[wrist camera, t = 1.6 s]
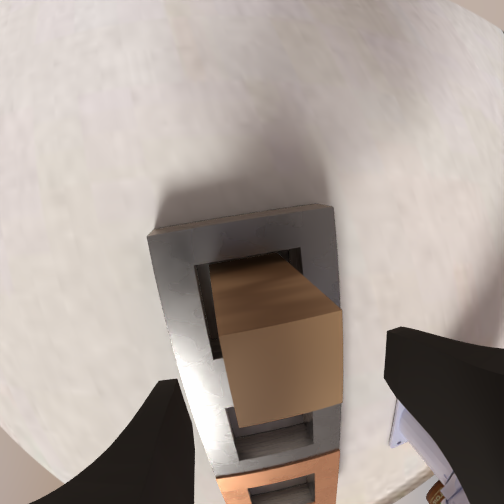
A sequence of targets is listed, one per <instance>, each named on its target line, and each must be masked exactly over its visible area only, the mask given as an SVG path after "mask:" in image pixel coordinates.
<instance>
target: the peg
mask: <svg viewBox="0 0 504 504" xmlns="http://www.w3.org/2000/svg"><path fill="white" fill-rule="evenodd" d="M209 271H210V279H211V286H212V294H213V301H214V308H215V315H216V322H217V329H218V335H219V340H220V345H221V350H222V355H223V360H224V364H225V369H226V373H227V378H228V383H229V387H230V391H231V396H232V400H233V405H234V409H235V413H236V417H237V422H238V426H239V428H243V427H248V426H253V425H258V424H263V423H267V422H272V421H276V420H281V419H285V418H289V417H293V416H297V415H301V414H305V413H308V412H312V411H316V410H319V409H323V408H326V407H330V406H333V405H336V404H339V403H342V399H343V322H342V310H341V309H340V308H339V307H338V306H337V305H336V304H335V303H334V302H332V301H331V300H330V299H329V298H328V297H327V296H326V295H325V294H323V293H322V292H321V291H320V290H319V289H318V288H317V287H316V286H314V285H313V284H312V283H311V282H310V281H309V280H308V279H307V278H305V277H304V276H303V275H302V274H301V273H300V272H299V271H298V270H296V269H295V268H294V267H293V266H292V265H291V264H290V263H288V262H287V261H286V260H285V259H284V258H283V257H282V256H280V255H279V254H278V253H271V254H265V255H259V256H254V257H248V258H242V259H236V260H230V261H224V262H219V263H213V264H209Z"/></svg>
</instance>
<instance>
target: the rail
mask: <svg viewBox="0 0 504 504" xmlns="http://www.w3.org/2000/svg"><path fill="white" fill-rule="evenodd" d="M147 240H148V245H149V250H150V255H151V260H152V265H153V270H154V274H155V279H156V283H157V288H158V292H159V296H160V301H161V305H162V309H163V313H164V317H165V321H166V325H167V329H168V333H169V336H170V340H171V344H172V347H173V351H174V355H175V358H176V362H177V365H178V369H179V372H180V375H181V379H182V382H183V385H184V388H185V392H186V395H187V398H188V401H189V404H190V407H191V410H192V413H193V416H194V419H195V422H196V425H197V428H198V431H199V434H200V437H201V439H202V442H203V445H204V448H205V450H206V453H207V456H208V459H209V461H210V464H211V466H212V469H213V472H214V474H215V477H216V480H217V483H218V485H219V488H220V490H221V493H222V495H223V497H224V500H225V502H226V504H335V503H336V494H337V483H338V471H339V458H340V450H339V441H340V418H341V403H339V404H336V405H333V406H330V407H326V408H323V409H319V410H316V411H312V412H308V413H305V414H303V417H304V423H302V424H298V425H294V426H290V427H286V428H282V429H278V430H273V431H269V432H264V433H259V434H255V435H249V436H244V437H239V438H235V437H234V433H233V429H232V426H231V422H230V418H229V414H228V410H227V408H229V407H234V405H233V400H232V396H231V391H230V387H229V383H228V378H227V373H226V369H225V364H224V360H223V355H222V350H221V345H220V340H219V338H216V339H211V337H210V332H209V327H208V323H207V318H206V313H205V308H204V303H203V298H202V293H201V288H200V283H199V277H198V272H197V267H196V265H199V264H205V263H211V262H217V261H222V260H228V259H234V258H240V257H246V256H252V255H257V254H263V253H269V252H275V251H281V250H287V249H289V258H290V264H291V265H292V266H293V267H294V268H295V269H296V270H298V271H299V272H300V273H301V274H302V275H303V276H304V277H305V278H307V279H308V280H309V281H310V282H311V283H312V284H313V285H314V286H316V287H317V288H318V289H319V290H320V291H321V292H322V293H323V294H325V295H326V296H327V297H328V298H329V299H330V300H331V301H332V302H334V303H335V304H336V305H337V306H338V307H339V308H340V290H339V271H338V256H337V242H336V230H335V219H334V208H333V207H332V206H327V205H321V204H310V205H302V206H295V207H288V208H281V209H274V210H267V211H261V212H254V213H248V214H241V215H235V216H228V217H222V218H216V219H210V220H204V221H198V222H192V223H186V224H180V225H175V226H169V227H163V228H158V229H154V230H153V231H152V232H151V233H150V234H149V235H148V236H147ZM305 475H307V483H305V484H302V485H298V486H294V487H290V488H286V489H282V490H277V491H273V492H268V493H263V494H258V495H253V496H251V494H250V491H249V488H253V487H258V486H263V485H268V484H273V483H277V482H282V481H286V480H290V479H294V478H298V477H302V476H305Z"/></svg>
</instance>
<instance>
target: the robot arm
mask: <svg viewBox="0 0 504 504" xmlns="http://www.w3.org/2000/svg"><path fill="white" fill-rule="evenodd" d="M384 379H385V380H386V382H387V384H388V385H389V387H390V389H391V390H392V392H393V393H394V395H395V396H396V398H397V403H396V409H395V415H394V421H393V426H392V432H391V437H390V442H389V446H390V448H394V447H397V446H399V445H401V444H403V443H406V442H409V443H410V444H411V445H412V447H413V448H414V449H415V450H416V451H417V453H418V454H419V455H420V456H421V458H422V459H423V460H424V461H425V463H426V464H427V465H428V466H429V468H430V469H431V470H432V471H433V472H434V474H435V475H436V476H437V477H438V478H439V480H440V481H441V482H442V484H443V485H444V487H443V488H442V489H441V493H442V494H443V495H444V496H445V499H443V500H442V502H441V504H504V349H501V348H492V347H485V346H479V345H474V344H469V343H464V342H460V341H456V340H452V339H448V338H445V337H441V336H437V335H434V334H430V333H426V332H423V331H419V330H415V329H411V328H406V327H398V328H395V329H392V330H389V331H387V340H386V356H385V369H384ZM194 470H195V446H194V436H193V427H192V422H191V419H190V416H189V413H188V411H187V408H186V405H185V402H184V399H183V395H182V392H181V389H180V386H179V383H178V380H177V379H170V380H162V381H158V383H157V384H156V386H155V387H154V388H153V390H152V391H151V393H150V394H149V396H148V397H147V399H146V400H145V402H144V403H143V405H142V406H141V408H140V409H139V410H138V412H137V413H136V415H135V416H134V417H133V419H132V420H131V422H130V423H129V424H128V425H127V427H126V428H125V429H124V430H123V432H122V433H121V434H120V435H119V437H118V438H117V439H116V440H115V441H114V442H113V443H112V445H111V446H110V447H109V448H108V449H107V450H106V451H105V452H104V453H103V454H102V455H101V456H99V457H98V458H97V459H96V460H95V461H94V462H93V463H92V464H91V465H89V466H88V467H87V468H86V469H84V470H83V471H82V472H81V473H79V474H78V475H77V476H75V477H74V478H73V479H72V480H70V481H69V482H67V483H66V484H64V485H63V486H61V487H60V488H58V489H56V490H55V491H53V492H51V493H50V494H48V495H46V496H44V497H42V498H40V499H38V500H36V501H34V502H32V503H29V504H194Z"/></svg>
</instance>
